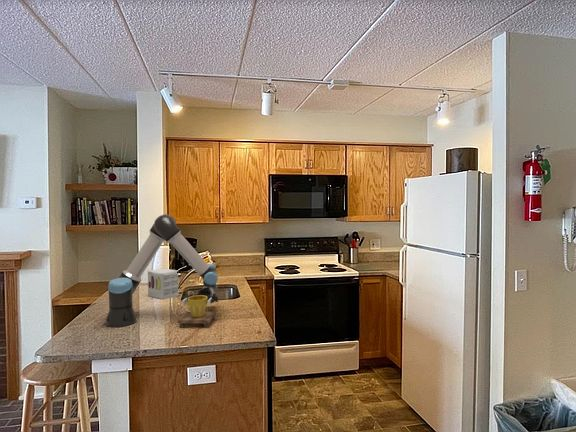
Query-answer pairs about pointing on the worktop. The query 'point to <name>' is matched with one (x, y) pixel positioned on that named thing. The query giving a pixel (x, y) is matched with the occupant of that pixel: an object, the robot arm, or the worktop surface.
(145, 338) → the worktop surface
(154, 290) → the supplement box
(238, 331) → the worktop surface
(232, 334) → the worktop surface
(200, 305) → the plant pot
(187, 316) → the walnut stand
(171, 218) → the robot arm
